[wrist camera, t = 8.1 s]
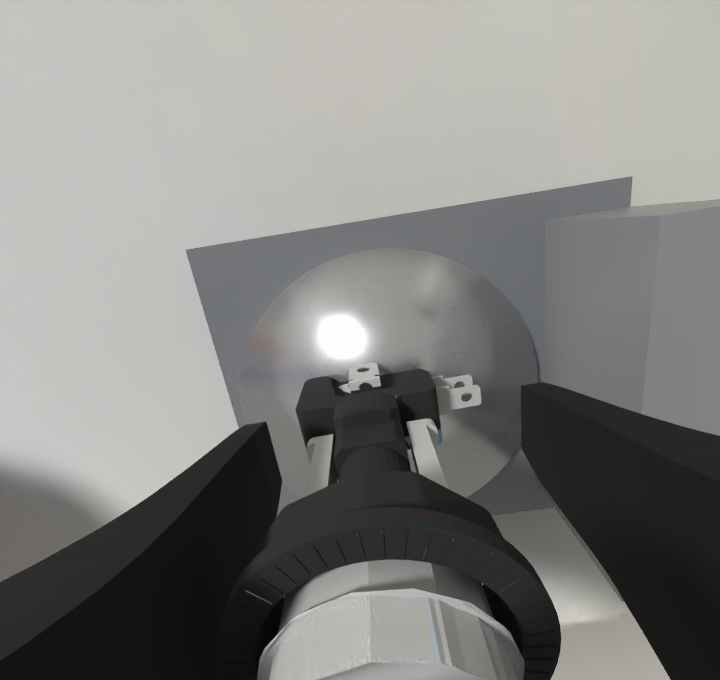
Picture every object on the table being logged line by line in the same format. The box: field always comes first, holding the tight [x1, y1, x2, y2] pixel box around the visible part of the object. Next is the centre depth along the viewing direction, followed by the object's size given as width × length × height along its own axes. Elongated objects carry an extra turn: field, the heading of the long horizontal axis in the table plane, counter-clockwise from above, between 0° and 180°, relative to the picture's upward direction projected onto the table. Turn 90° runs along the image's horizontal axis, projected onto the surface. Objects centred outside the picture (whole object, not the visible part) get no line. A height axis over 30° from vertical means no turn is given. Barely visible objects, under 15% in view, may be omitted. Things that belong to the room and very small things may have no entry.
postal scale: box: [186, 177, 720, 601], centre depth 13 cm, size 16×14×6 cm
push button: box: [216, 362, 561, 680], centre depth 9 cm, size 7×5×10 cm
